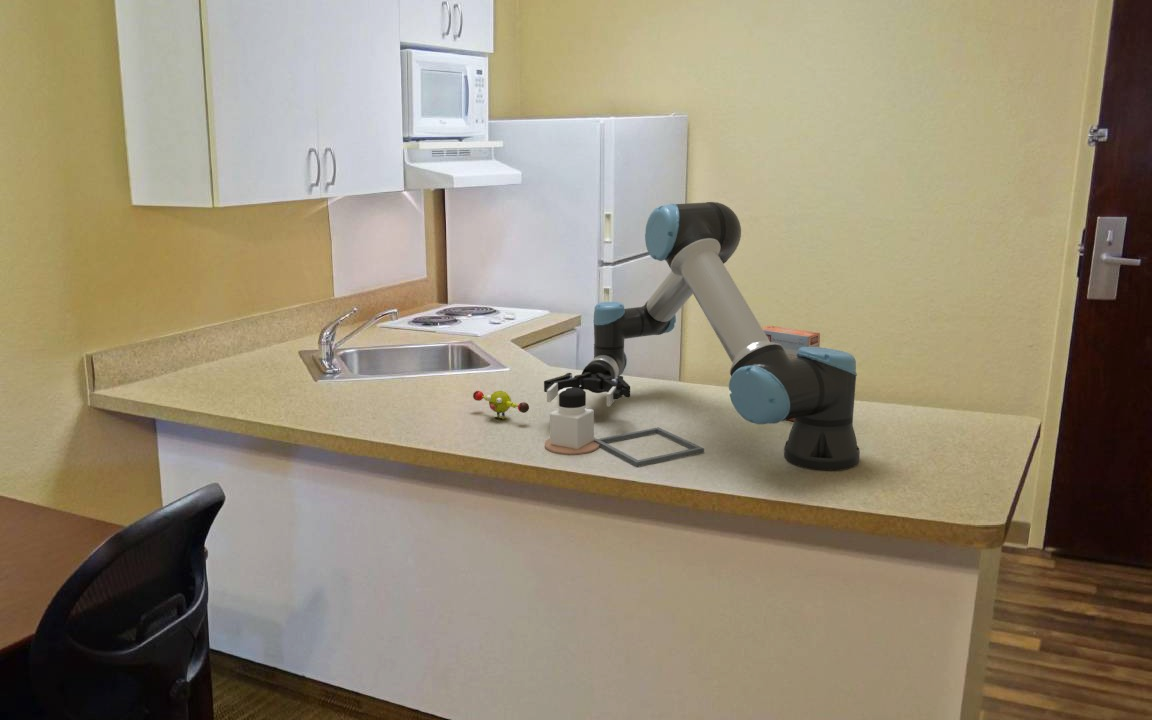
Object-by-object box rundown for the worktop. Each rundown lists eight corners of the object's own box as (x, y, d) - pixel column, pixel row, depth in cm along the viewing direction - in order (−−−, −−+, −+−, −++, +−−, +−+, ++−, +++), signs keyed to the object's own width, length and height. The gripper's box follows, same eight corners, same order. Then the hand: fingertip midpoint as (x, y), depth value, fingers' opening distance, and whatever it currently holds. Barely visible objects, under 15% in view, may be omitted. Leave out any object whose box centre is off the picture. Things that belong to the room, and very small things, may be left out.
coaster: (610, 448, 206) (610, 445, 206) (561, 458, 200) (561, 455, 200) (582, 433, 216) (582, 431, 216) (535, 442, 210) (535, 439, 210)
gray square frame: (703, 452, 203) (704, 448, 203) (636, 467, 195) (636, 462, 194) (658, 431, 217) (658, 427, 217) (593, 444, 209) (593, 439, 209)
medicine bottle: (594, 440, 209) (594, 387, 206) (577, 450, 203) (577, 395, 200) (566, 435, 213) (566, 383, 210) (549, 444, 207) (548, 391, 204)
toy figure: (465, 414, 232) (464, 387, 230) (482, 409, 236) (482, 382, 234) (518, 429, 220) (517, 400, 218) (535, 423, 224) (534, 395, 222)
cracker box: (817, 418, 226) (821, 331, 221) (803, 424, 221) (808, 336, 216) (765, 407, 235) (769, 323, 230) (752, 412, 231) (755, 327, 226)
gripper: (650, 392, 229) (633, 418, 209) (550, 386, 235) (524, 410, 215) (651, 362, 227) (633, 385, 208) (550, 356, 234) (523, 378, 214)
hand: (578, 398), depth 211 cm, fingers open, 13 cm apart
